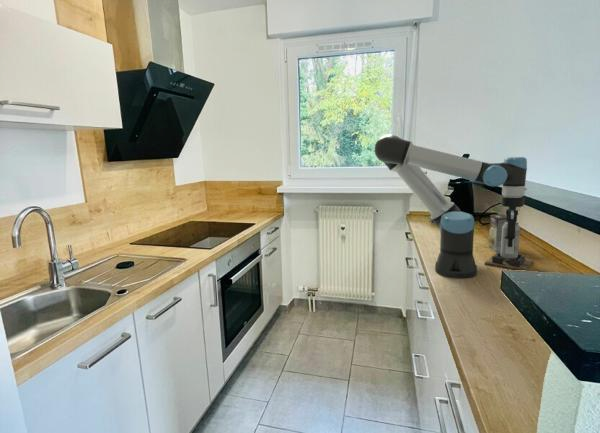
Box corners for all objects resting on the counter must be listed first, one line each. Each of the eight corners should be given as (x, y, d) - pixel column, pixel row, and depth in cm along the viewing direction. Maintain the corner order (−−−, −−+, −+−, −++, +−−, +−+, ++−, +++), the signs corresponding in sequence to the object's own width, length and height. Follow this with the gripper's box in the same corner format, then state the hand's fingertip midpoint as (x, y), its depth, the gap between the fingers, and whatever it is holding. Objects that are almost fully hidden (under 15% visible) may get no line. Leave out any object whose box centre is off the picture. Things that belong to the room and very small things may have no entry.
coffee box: (487, 246, 155) (489, 214, 152) (502, 246, 154) (504, 214, 151) (495, 251, 146) (497, 218, 143) (510, 251, 145) (512, 218, 142)
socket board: (524, 272, 121) (525, 263, 121) (484, 264, 131) (484, 256, 131) (532, 262, 131) (533, 254, 130) (494, 256, 141) (495, 248, 140)
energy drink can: (506, 254, 134) (509, 220, 132) (521, 258, 129) (523, 223, 126) (496, 257, 132) (499, 222, 129) (510, 261, 127) (513, 225, 124)
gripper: (526, 199, 116) (521, 259, 120) (523, 193, 131) (519, 246, 136) (501, 199, 120) (498, 257, 124) (501, 193, 135) (498, 244, 140)
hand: (509, 251), depth 130 cm, fingers closed on energy drink can, 6 cm apart
